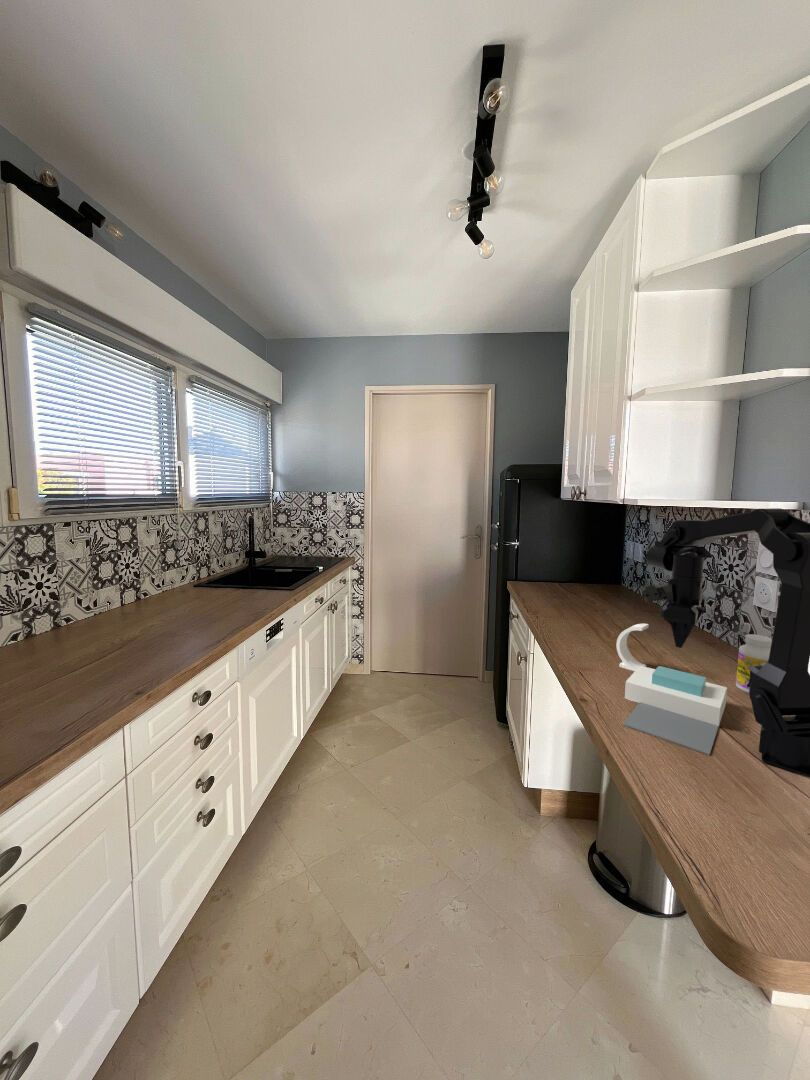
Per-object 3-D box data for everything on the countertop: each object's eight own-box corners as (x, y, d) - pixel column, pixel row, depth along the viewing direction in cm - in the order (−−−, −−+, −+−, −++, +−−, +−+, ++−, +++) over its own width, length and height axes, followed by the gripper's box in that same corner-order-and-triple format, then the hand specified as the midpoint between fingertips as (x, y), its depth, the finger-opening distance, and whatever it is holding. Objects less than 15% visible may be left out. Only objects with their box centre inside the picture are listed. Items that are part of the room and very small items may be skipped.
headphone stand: (639, 672, 106) (641, 627, 105) (615, 665, 111) (617, 622, 109) (646, 667, 109) (648, 624, 108) (622, 661, 114) (624, 619, 112)
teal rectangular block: (705, 687, 89) (706, 677, 89) (700, 696, 85) (701, 686, 85) (658, 674, 96) (658, 665, 95) (651, 683, 91) (652, 674, 91)
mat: (718, 727, 81) (718, 726, 81) (709, 755, 72) (709, 753, 72) (639, 703, 91) (639, 701, 90) (623, 725, 82) (623, 724, 82)
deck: (725, 704, 90) (727, 687, 89) (718, 727, 81) (720, 708, 81) (639, 681, 101) (640, 665, 101) (624, 698, 93) (625, 681, 92)
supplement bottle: (728, 683, 100) (732, 632, 98) (756, 683, 100) (761, 632, 98) (750, 696, 93) (755, 642, 92) (780, 697, 93) (786, 642, 91)
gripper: (655, 565, 105) (651, 624, 107) (636, 576, 91) (632, 644, 93) (708, 571, 97) (703, 634, 99) (697, 583, 84) (692, 657, 85)
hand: (682, 641), depth 94 cm, fingers open, 9 cm apart
